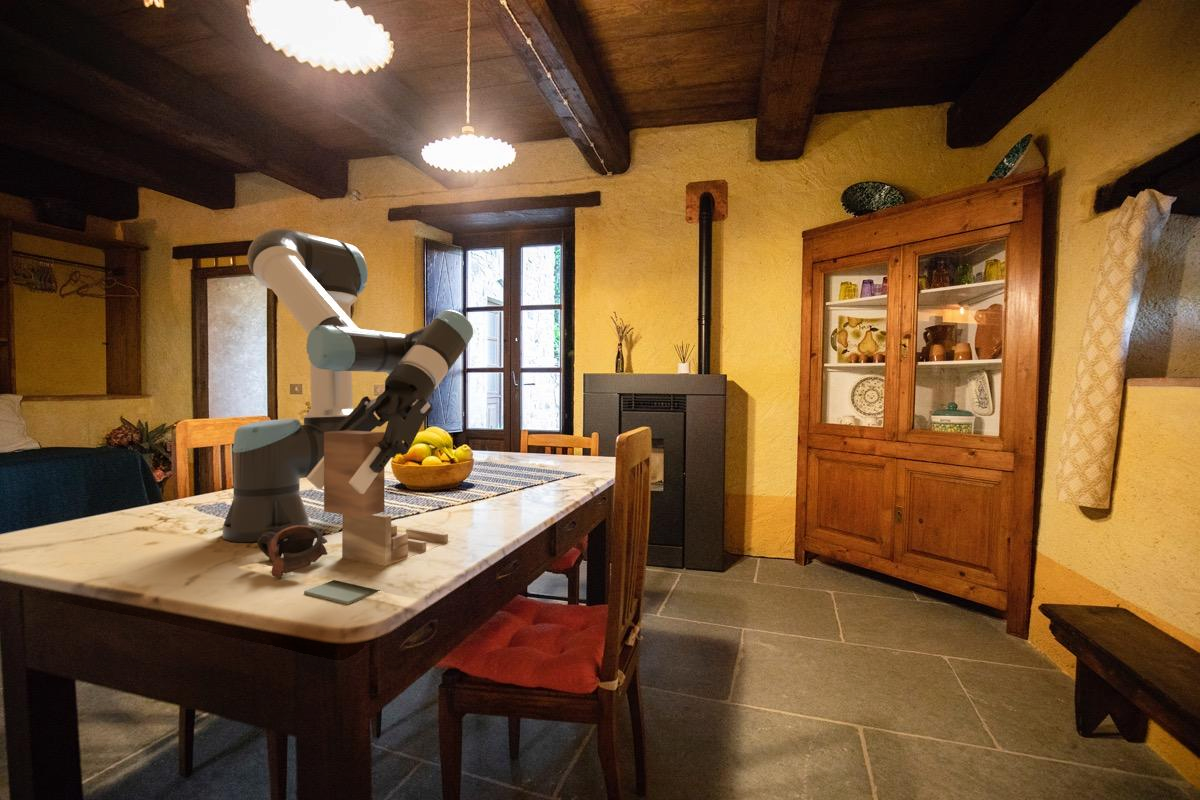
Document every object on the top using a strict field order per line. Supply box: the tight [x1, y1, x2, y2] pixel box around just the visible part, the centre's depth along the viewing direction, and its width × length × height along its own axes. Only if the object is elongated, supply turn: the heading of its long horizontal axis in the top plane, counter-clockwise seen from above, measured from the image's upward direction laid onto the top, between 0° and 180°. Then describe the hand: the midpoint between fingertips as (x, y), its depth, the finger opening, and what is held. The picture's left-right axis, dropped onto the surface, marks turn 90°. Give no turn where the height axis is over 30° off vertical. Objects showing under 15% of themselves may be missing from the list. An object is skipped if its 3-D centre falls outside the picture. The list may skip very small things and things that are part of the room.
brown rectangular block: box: [323, 430, 386, 517], centre depth 79 cm, size 4×8×12 cm, turn 66°
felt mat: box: [304, 579, 381, 605], centre depth 79 cm, size 9×9×1 cm
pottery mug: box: [257, 525, 328, 580], centre depth 87 cm, size 12×10×8 cm
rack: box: [341, 513, 452, 567], centre depth 95 cm, size 16×10×9 cm, turn 156°
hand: (334, 485), depth 76 cm, fingers closed on brown rectangular block, 8 cm apart
